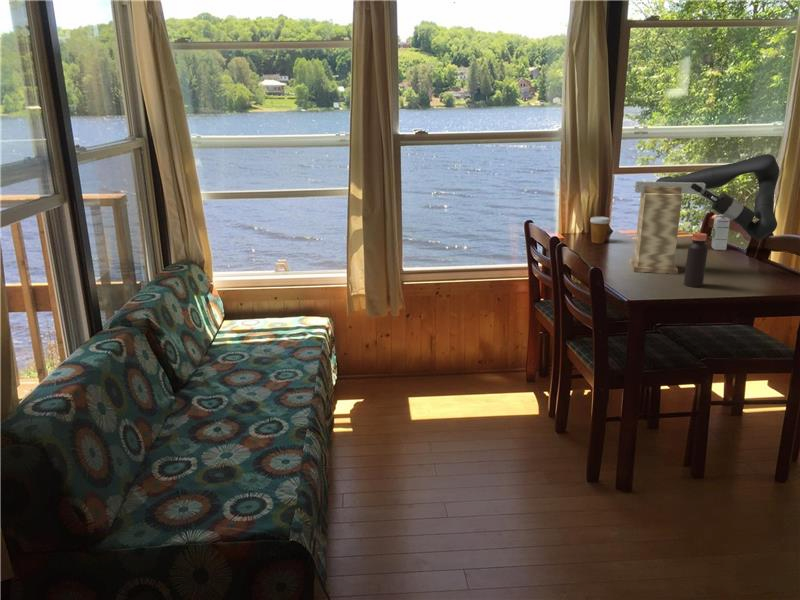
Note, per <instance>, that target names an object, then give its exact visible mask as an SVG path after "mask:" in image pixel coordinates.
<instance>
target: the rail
mask: <svg viewBox="0 0 800 600" xmlns="http://www.w3.org/2000/svg"><path fill="white" fill-rule="evenodd" d="M693 183H694V182H656V181H641V180H639V181H635V185H634V192H635V193H636V194H637V193H639V194H641V193H644V189H645V187H682V192H681V194H682V195H684V194H690V195H700V194H699V193H698V192H697V191H695V190H693V189H692V188H691V186H692V185H693ZM695 184H697V185H698V186H700V187H702V188H704V189H705V185H706V184H705V183H695Z"/></svg>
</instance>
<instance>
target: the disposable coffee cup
mask: <svg viewBox="0 0 800 600" xmlns="http://www.w3.org/2000/svg"><path fill="white" fill-rule="evenodd" d="M589 221H590V237H591V243H594V244H604V242H606V238H607V233H608V229H609V224H610V222H611V219H610V218H609V217H606V216H592V217H590V220H589Z"/></svg>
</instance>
